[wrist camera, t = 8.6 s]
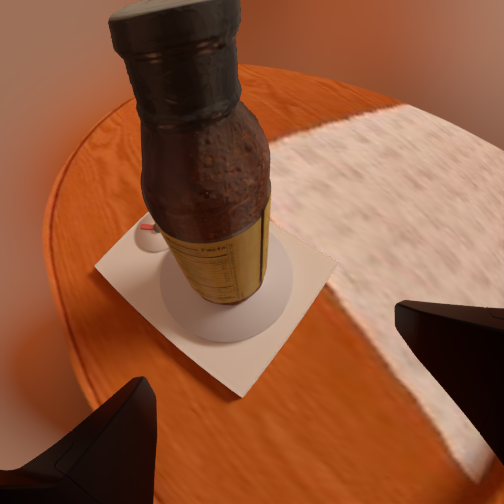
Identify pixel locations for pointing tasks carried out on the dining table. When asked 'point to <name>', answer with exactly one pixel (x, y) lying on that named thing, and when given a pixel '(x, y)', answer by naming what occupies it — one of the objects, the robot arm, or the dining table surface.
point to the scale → (214, 315)
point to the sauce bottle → (198, 142)
